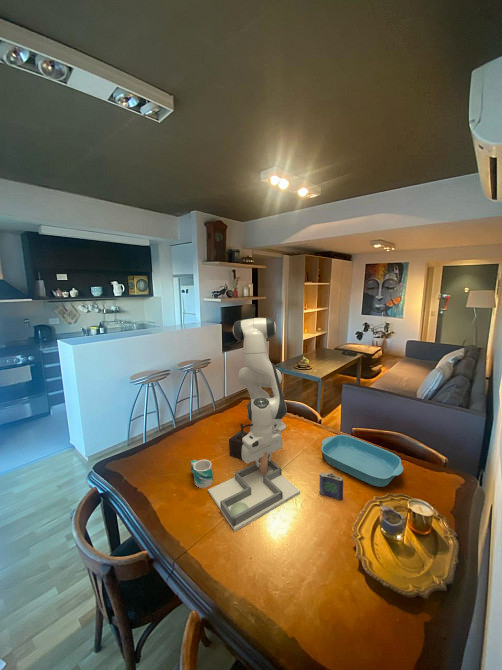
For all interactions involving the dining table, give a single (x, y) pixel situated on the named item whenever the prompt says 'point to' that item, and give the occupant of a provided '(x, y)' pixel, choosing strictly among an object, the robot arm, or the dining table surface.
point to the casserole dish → (361, 459)
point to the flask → (331, 486)
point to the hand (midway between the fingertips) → (263, 463)
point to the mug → (202, 473)
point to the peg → (263, 464)
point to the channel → (253, 493)
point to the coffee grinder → (237, 443)
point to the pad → (238, 508)
